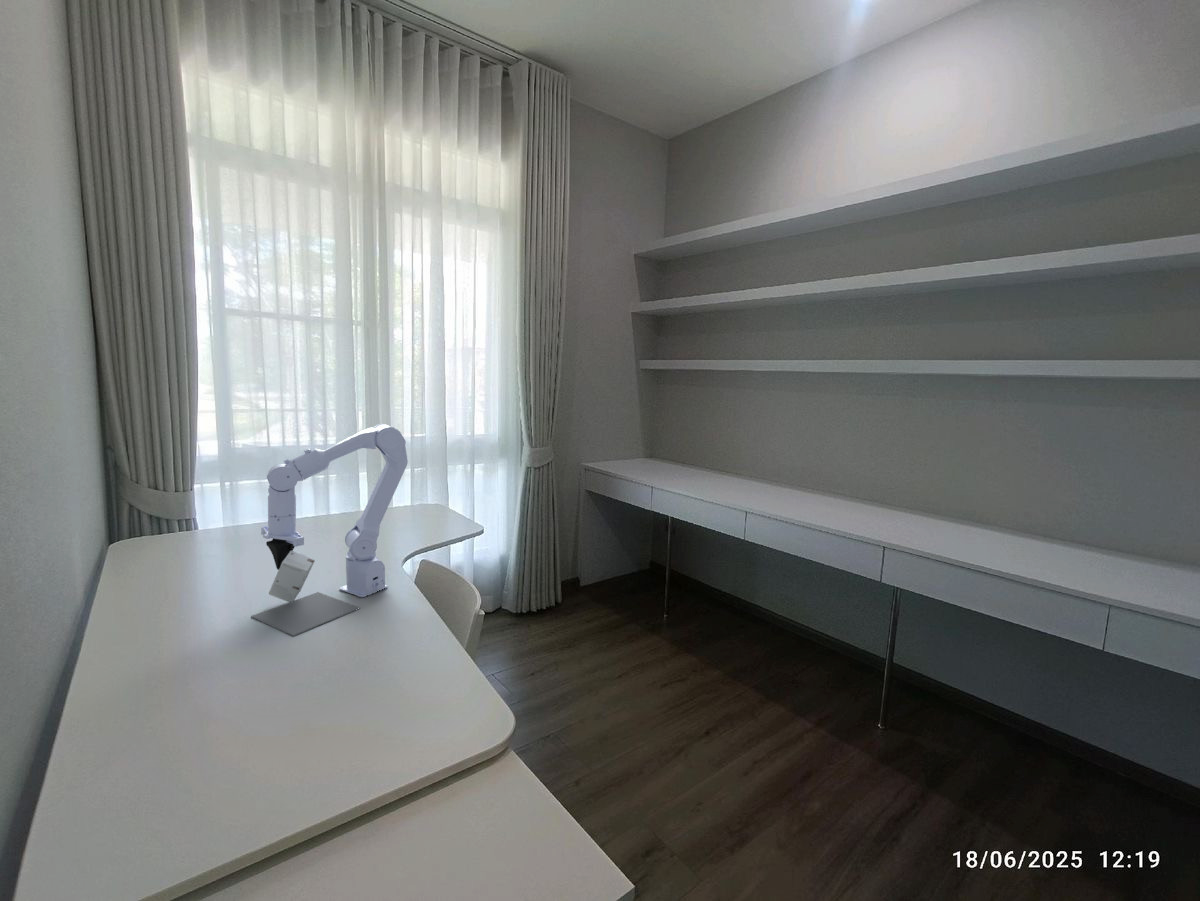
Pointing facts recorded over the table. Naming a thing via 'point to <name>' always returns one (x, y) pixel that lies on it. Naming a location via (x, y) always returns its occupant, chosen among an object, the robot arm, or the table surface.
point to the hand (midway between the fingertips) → (282, 568)
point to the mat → (304, 613)
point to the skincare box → (291, 576)
